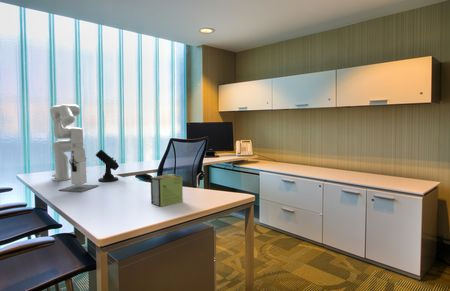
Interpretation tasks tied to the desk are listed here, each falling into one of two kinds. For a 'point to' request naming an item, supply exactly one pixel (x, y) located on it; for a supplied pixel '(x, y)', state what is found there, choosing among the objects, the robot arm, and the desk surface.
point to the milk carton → (79, 174)
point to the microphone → (107, 167)
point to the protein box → (166, 190)
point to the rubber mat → (79, 188)
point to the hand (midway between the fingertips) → (78, 170)
